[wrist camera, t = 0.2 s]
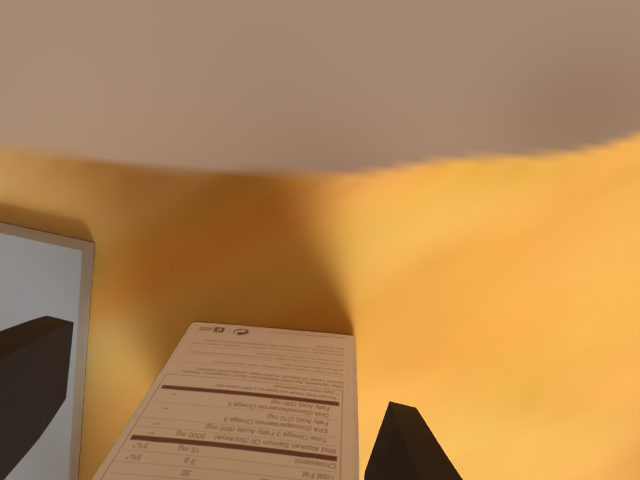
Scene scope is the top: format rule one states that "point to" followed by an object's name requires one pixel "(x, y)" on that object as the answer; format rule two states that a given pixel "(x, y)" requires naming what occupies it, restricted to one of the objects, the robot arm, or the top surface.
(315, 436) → the supplement box
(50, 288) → the board
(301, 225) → the top surface
